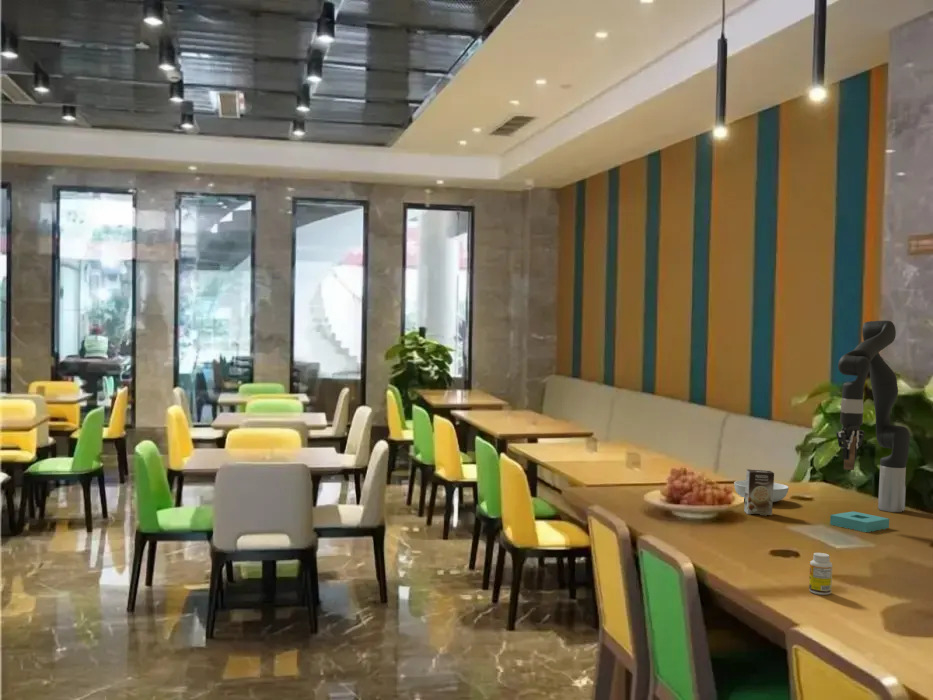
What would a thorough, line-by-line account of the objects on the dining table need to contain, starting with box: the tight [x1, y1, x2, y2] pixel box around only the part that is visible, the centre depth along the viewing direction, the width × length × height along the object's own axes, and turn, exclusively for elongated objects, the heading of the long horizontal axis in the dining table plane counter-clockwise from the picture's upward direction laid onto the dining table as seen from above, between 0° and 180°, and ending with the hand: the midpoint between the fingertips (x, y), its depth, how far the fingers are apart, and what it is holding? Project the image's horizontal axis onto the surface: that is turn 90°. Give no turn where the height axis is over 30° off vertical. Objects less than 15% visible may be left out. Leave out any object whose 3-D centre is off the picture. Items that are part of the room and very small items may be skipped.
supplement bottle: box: [808, 552, 833, 596], centre depth 250 cm, size 6×6×10 cm
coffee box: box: [743, 468, 775, 516], centre depth 354 cm, size 9×6×16 cm
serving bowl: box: [733, 479, 789, 503], centre depth 379 cm, size 21×21×7 cm
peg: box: [843, 436, 856, 471], centre depth 340 cm, size 4×4×12 cm
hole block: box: [829, 511, 890, 533], centre depth 336 cm, size 14×14×4 cm
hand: (849, 458), depth 340 cm, fingers closed on peg, 3 cm apart
